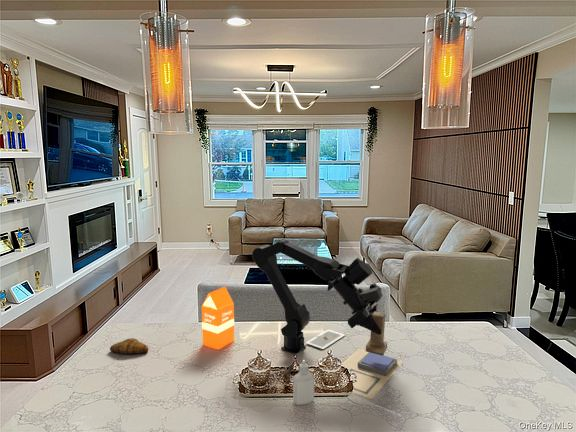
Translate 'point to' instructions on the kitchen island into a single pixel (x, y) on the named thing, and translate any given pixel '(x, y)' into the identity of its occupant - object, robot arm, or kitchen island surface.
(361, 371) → the board
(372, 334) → the walnut stamp
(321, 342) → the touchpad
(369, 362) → the ink pad
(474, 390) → the kitchen island surface
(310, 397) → the eye dropper bottle
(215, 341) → the orange juice
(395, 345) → the kitchen island surface
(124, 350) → the croissant
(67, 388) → the kitchen island surface
